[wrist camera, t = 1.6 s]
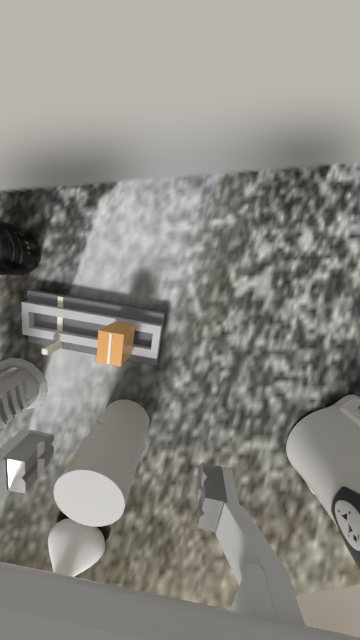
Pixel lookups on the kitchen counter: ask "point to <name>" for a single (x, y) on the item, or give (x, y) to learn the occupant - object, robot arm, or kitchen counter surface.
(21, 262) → the supplement bottle
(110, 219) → the kitchen counter surface
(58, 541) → the flower in vase
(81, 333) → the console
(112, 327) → the fader
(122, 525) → the kitchen counter surface
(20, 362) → the french press
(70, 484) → the light grey cylinder
